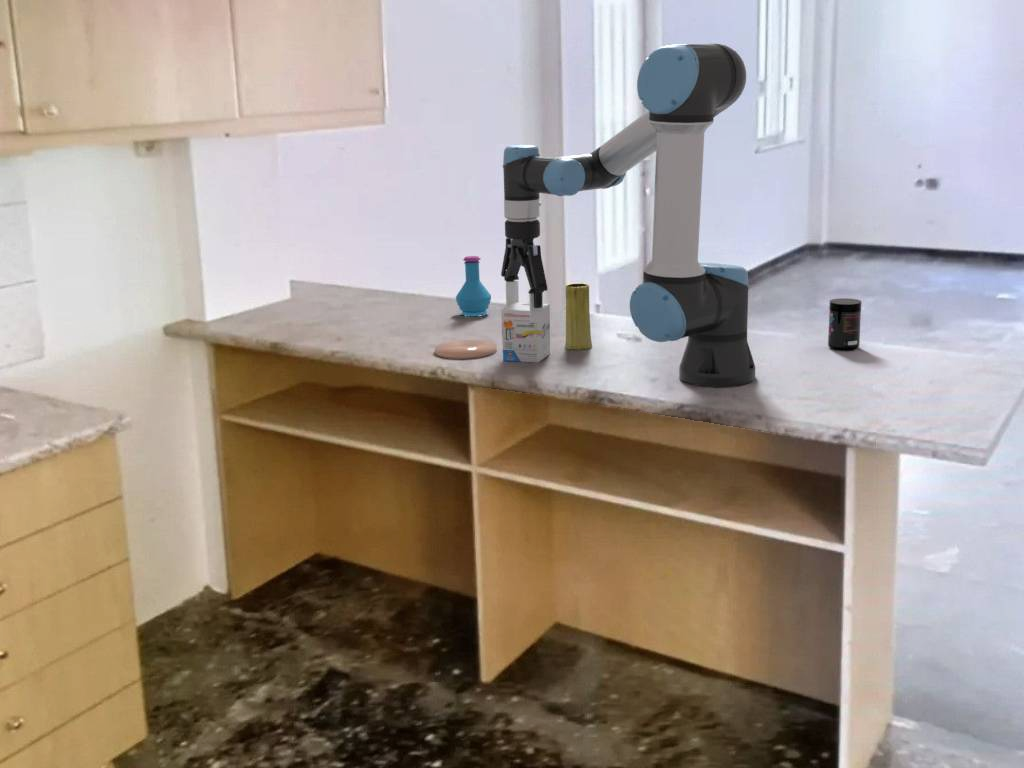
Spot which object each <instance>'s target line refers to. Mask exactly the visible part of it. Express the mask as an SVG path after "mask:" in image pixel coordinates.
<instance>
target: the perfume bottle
mask: <svg viewBox="0 0 1024 768" xmlns="http://www.w3.org/2000/svg"><path fill="white" fill-rule="evenodd" d="M480 260H481V257H479V256H476V255H469V256H468V255H467V256H465V257H464V258H463V259H462V261H464V266H465V267H464V268H465V270H464V271H465V272H464V273H465V282H464V283H463V284H462V287H461V288H460V289H459V291H458V292H457V294H456V296H455V302H456V303H457V305H458V307H459V310H460V311H461V316H462V315H466V316H465V317H467V316H477V317H480V316H479V315H483V316H485V315H484V314H486V313H487V314H488V312H487V310H488V309H489V305H490V303H491V300H492V295H491V293H490V292H489V291H488V289H487V288H486V287H485V286H484V285H483V283H482V281H480ZM487 314H486V315H487Z"/></svg>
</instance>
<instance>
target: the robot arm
mask: <svg viewBox="0 0 1024 768" xmlns="http://www.w3.org/2000/svg"><path fill="white" fill-rule="evenodd" d="M746 84H747V69H746V65H745V63H744V60H743V59H742V57H741V55H740V54H739V53H738V52H737V51H736V50H734V49H733V48H731V47H730V46H728V45H725V44H721V43H705V44H704V43H699V44H698V43H694V44H693V43H692V44H691V43H688V44H684V43H678V44H676V43H675V44H670V45H664V46H661V47H658V48H656V49H654V50H653V51H652V52H651V53H650V54H649V55H648V57H646V58H645V60H644V61H643V63H642V65H640V69H639V72H638V75H637V80H636V90H637V95H638V98H639V99H638V100H641V101H642V102H641V104H642V105H643V107H644V109H646V112H644V113H643V114H641V115H640V116H639V117H638V118H636V119H635V120H634V121H632V122H631V123H630V124H628V125H627V126H625V127H624V128H623V129H622V130H620V131H619V132H617V134H615V135H613V136H612V137H611V138H610V139H608V140H607V141H606V142H604V143H603V144H601V145H600V146H599V147H597V148H596V149H595V150H593V151H592V152H590V153H582V154H573V155H565V156H557V157H556V156H552V157H551V156H540V150H539V147H538V146H536V145H534V144H518V145H517V144H516V145H514V144H513V145H509V146H506V147H505V148H504V150H503V160H502V161H503V164H502V168H503V194H504V195H503V196H504V197H503V198H504V199H503V209H504V211H503V213H504V215H503V216H504V218H506V220H505V221H504V236H505V237H506V238H505V250H504V255H503V260H502V267H501V271H500V275H501V277H502V278H504V281H505V307H507V306H508V305H510V304H512V303H514V302H520V300H519V281H518V280H520V279H519V276H518V275H519V272H520V270H521V267H523V268H524V271H525V274H526V275H525V276H526V278H527V282H528V284H529V287H530V289H529V290H528V295H529V296H528V297H529V303H530V323H538V322H543V304H544V303H543V301H544V298H543V295H544V294H543V293H544V292H546V291H548V284H547V278H546V274H545V268H544V265H543V259H542V252H541V251H542V249H541V245H540V244H536V245H535V244H534V239H537V238H539V237H540V235H541V221H540V220H539V217H540V214H541V213H540V207H541V206H542V203H541V201H540V194H546V195H553V196H557V197H563V196H565V197H566V196H567V197H570V196H574V195H576V194H578V193H579V192H584V191H585V192H586V191H592V190H601V189H602V190H603V189H604V190H605V189H610V188H611V187H616V186H619V185H620V184H621V183H622V182H623V181H624V179H625V177H626V174H627V172H628V171H630V170H631V169H633V168H634V167H635V166H637V165H638V164H639V163H642V161H644V160H646V159H647V158H648V157H649V156H651V155H653V154H655V172H654V173H655V175H654V199H653V200H654V201H653V220H652V221H653V223H652V225H653V226H652V247H651V248H652V250H651V251H652V252H651V253H652V254H651V260H650V261H649V262H647V264H645V266H644V267H643V274H642V275H643V277H642V283H641V284H639V285H638V286H637V287H636V288H635V290H633V291H632V293H631V295H630V297H629V298H630V300H629V312H630V316H631V319H632V322H633V323H634V325H635V327H636V328H637V329H638V330H639V333H640V334H642V336H644V337H645V338H647V339H648V340H649V341H653V342H656V343H666V342H674V341H675V342H676V341H679V340H680V339H684V338H687V343H686V346H685V348H684V352H683V355H682V358H681V361H680V364H679V369H678V373H679V374H678V375H679V376H678V378H679V379H680V381H683V382H685V383H687V384H691V385H695V386H700V387H701V386H702V387H710V388H711V387H712V388H713V387H714V388H715V387H717V388H718V387H719V388H721V387H735V386H744V385H746V384H750V383H752V382H753V381H754V380H755V379H756V365H755V361H754V358H753V355H752V352H751V348H750V346H749V342H748V322H749V321H748V320H749V319H748V318H749V317H748V315H749V314H748V313H749V311H748V310H749V309H748V308H749V289H750V284H749V273H748V270H747V269H746V268H744V267H743V266H739V265H734V264H723V263H712V262H711V263H710V262H699V245H700V243H699V242H700V240H699V239H700V227H701V226H700V221H701V207H702V206H701V205H702V186H703V185H702V184H703V165H704V151H705V150H704V148H705V132H706V130H707V129H708V128H709V127H711V125H712V124H713V123H714V118H715V117H717V116H718V115H720V114H721V113H722V112H724V111H726V110H727V109H728V108H729V107H732V105H734V104H735V102H737V101H738V100H739V99H740V97H741V95H742V94H743V92H744V89H745V87H746Z"/></svg>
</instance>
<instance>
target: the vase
mask: <svg viewBox="0 0 1024 768" xmlns="http://www.w3.org/2000/svg"><path fill="white" fill-rule="evenodd" d="M591 334H592V333H591V316H590V285H589V284H588V283H584V282H581V283H580V282H577V283H576V282H574V283H573V282H572V283H567V284H566V285H565V345H564V347H565V349H567V350H573V351H582V350H588V349H591V348H592V347H593V343H592V335H591Z"/></svg>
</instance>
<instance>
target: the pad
mask: <svg viewBox="0 0 1024 768" xmlns="http://www.w3.org/2000/svg"><path fill="white" fill-rule="evenodd" d="M497 351H498V350H497V345H496V343H494V342H491V341H488V340H481V339H478V340H477V339H464V340H463V339H461V340H460V339H459V340H453V341H448V342H442V343H440V344H438V345H436V346H435V347H434V354H435V355H436V356H437V357H440V358H444V359H451V360H452V359H454V360H468V359H479V358H483V357H488V356H491V355H493V354H495V353H497Z"/></svg>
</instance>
